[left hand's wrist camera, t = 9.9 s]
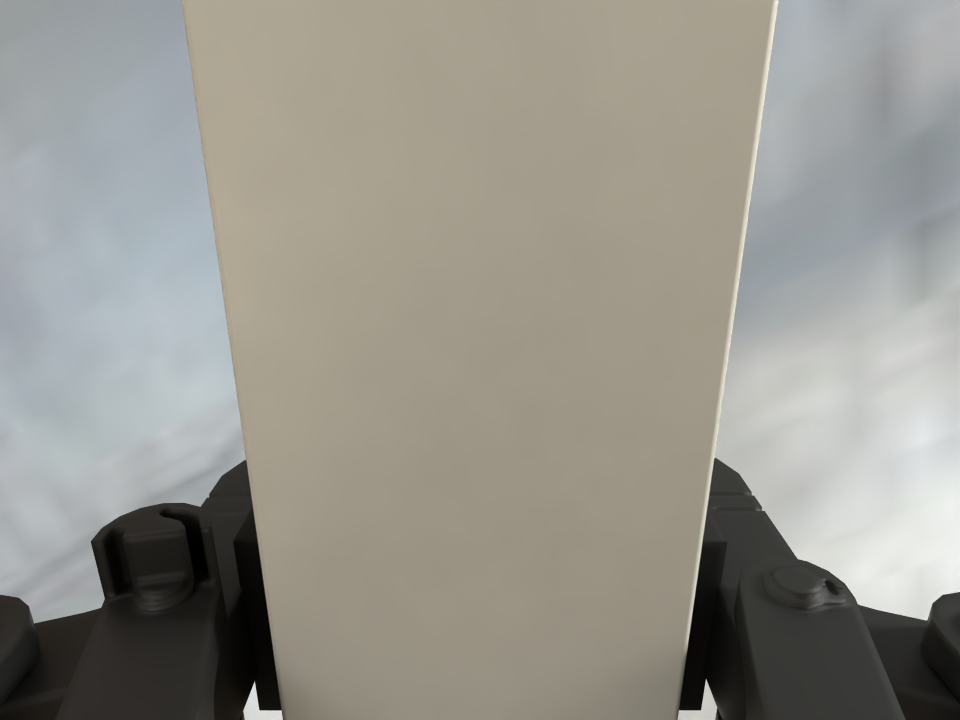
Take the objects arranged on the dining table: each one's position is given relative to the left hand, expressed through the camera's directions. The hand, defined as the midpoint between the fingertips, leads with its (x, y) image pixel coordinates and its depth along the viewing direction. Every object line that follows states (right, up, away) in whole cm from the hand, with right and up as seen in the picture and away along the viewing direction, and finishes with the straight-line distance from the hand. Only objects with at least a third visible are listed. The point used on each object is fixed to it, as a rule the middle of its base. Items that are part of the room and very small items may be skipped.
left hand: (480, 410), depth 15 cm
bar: (0, -18, +8) cm, 20 cm away
